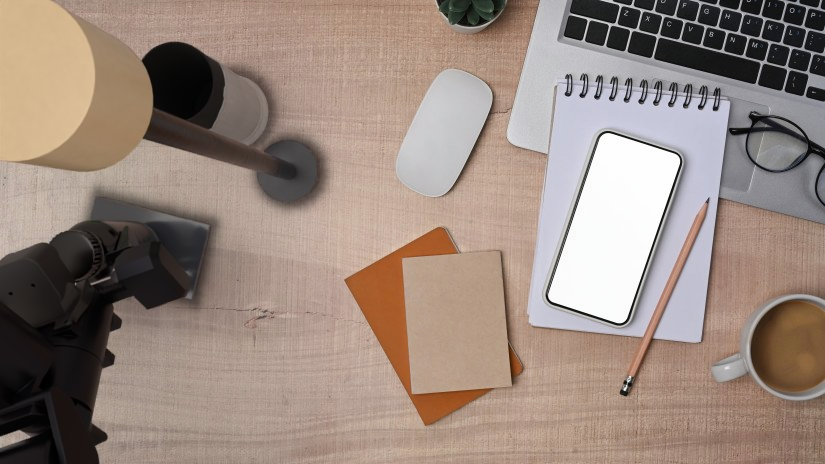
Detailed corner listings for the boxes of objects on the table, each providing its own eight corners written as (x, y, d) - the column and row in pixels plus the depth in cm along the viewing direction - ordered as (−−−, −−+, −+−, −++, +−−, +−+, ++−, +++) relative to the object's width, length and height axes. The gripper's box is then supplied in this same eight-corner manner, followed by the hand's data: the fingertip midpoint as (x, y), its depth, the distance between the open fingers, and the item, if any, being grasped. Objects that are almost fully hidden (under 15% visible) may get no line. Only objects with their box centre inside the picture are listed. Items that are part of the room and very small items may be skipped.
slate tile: (193, 299, 71) (191, 300, 70) (80, 270, 72) (77, 270, 71) (211, 224, 71) (209, 224, 70) (98, 196, 71) (95, 196, 71)
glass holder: (264, 153, 70) (216, 134, 55) (145, 141, 71) (66, 119, 56) (272, 78, 70) (225, 38, 55) (152, 67, 71) (75, 25, 56)
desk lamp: (293, 214, 70) (19, 196, 25) (248, 174, 71) (-104, 84, 25) (332, 169, 70) (129, 67, 25) (287, 129, 70) (4, -46, 25)
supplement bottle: (109, 285, 69) (38, 296, 57) (100, 225, 69) (27, 224, 57) (168, 276, 68) (109, 286, 56) (159, 216, 68) (98, 213, 56)
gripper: (106, 269, 45) (134, 148, 56) (-121, 351, 46) (-49, 216, 57) (187, 349, 52) (197, 229, 64) (-9, 418, 53) (35, 288, 65)
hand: (97, 240), depth 62 cm, fingers closed on supplement bottle, 7 cm apart
